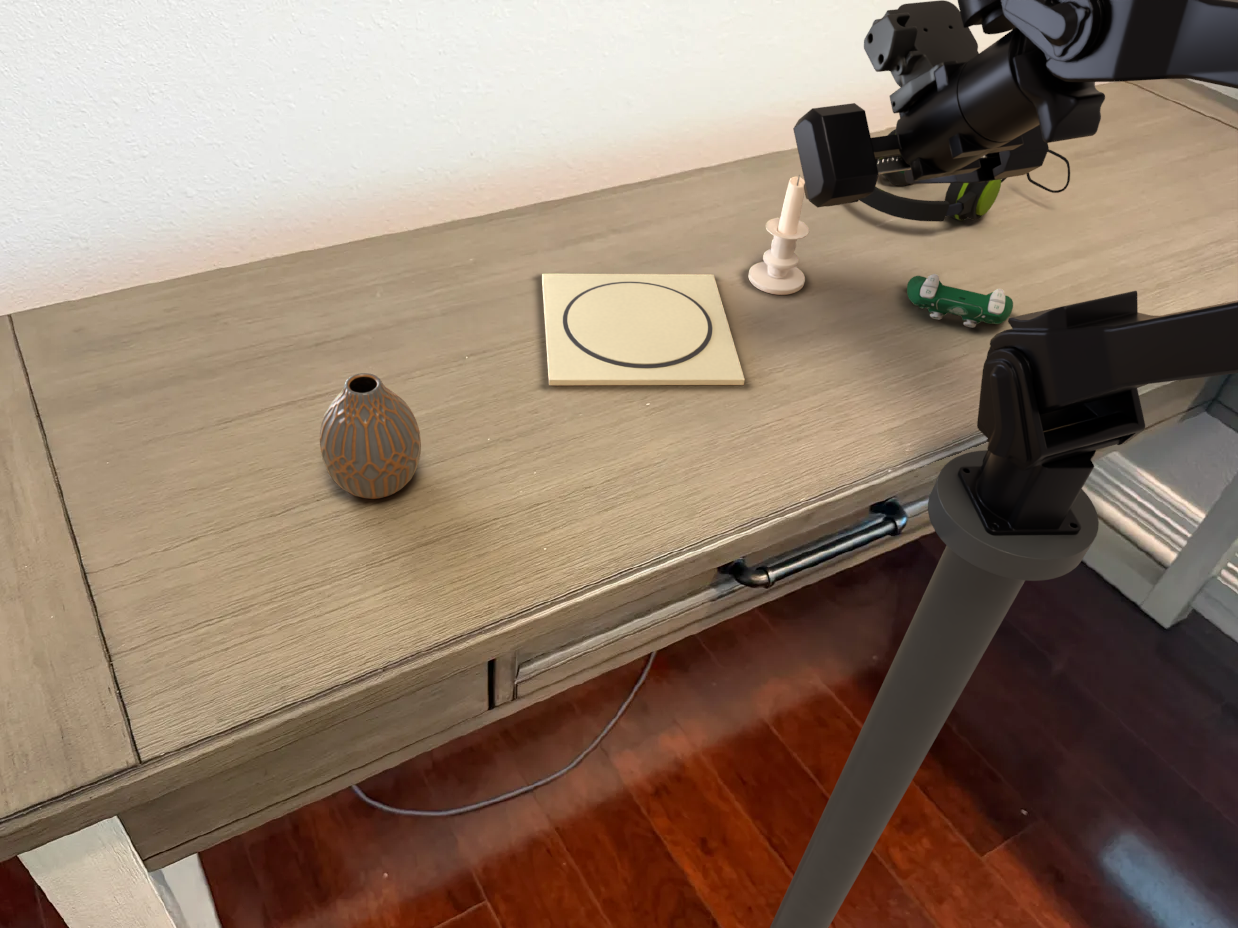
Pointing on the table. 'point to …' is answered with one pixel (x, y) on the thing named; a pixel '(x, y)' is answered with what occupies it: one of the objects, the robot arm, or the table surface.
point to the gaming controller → (958, 301)
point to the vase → (369, 439)
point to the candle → (783, 246)
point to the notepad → (637, 330)
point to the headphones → (958, 199)
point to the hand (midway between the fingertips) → (857, 184)
